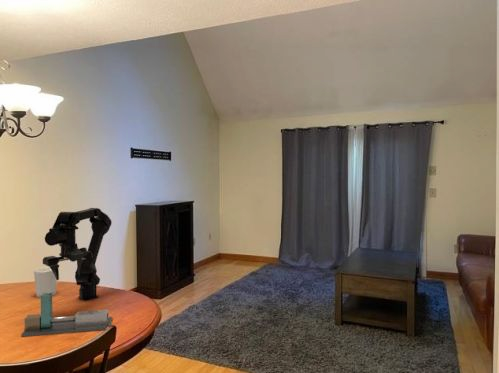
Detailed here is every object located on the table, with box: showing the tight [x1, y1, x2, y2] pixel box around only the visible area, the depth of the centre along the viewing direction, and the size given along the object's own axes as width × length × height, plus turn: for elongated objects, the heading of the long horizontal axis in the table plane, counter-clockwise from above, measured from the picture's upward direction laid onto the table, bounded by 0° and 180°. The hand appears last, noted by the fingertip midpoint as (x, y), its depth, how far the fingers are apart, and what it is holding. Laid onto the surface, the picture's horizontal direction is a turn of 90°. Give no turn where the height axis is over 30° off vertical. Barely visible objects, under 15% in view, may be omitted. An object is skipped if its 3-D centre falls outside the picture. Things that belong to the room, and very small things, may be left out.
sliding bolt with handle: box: [40, 293, 75, 328], centre depth 138 cm, size 18×3×12 cm, turn 102°
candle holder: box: [33, 266, 58, 298], centre depth 177 cm, size 10×10×12 cm
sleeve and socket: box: [20, 308, 113, 337], centre depth 139 cm, size 29×10×5 cm, turn 102°
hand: (68, 277), depth 159 cm, fingers open, 9 cm apart
